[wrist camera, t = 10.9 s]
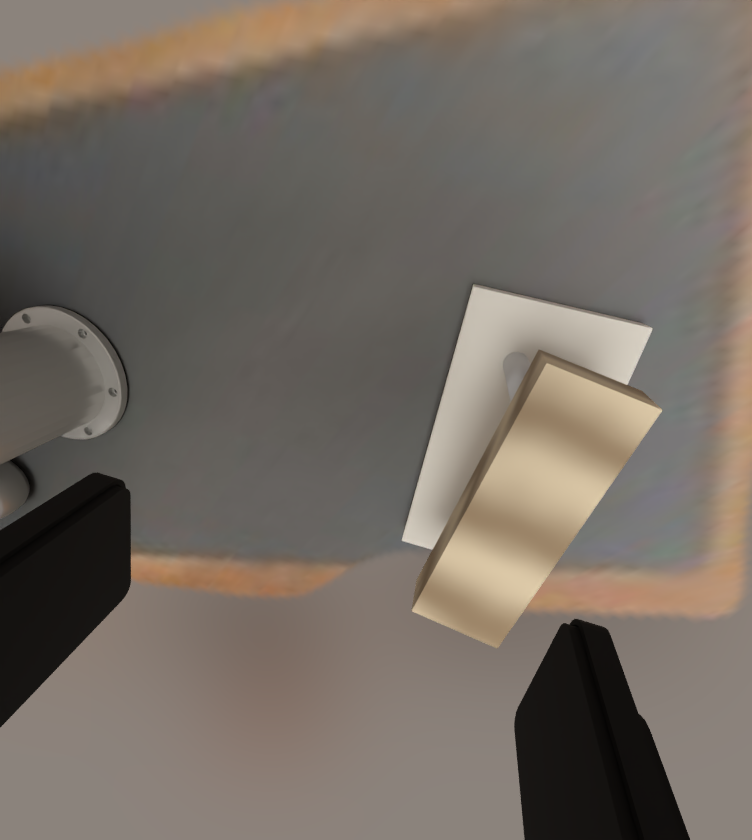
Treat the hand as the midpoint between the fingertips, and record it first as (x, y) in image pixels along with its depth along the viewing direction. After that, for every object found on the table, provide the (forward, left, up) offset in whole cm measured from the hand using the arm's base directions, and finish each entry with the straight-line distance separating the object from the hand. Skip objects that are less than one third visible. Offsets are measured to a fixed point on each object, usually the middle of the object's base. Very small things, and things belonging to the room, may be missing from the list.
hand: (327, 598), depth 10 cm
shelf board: (+8, -7, -19) cm, 22 cm away
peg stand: (+8, -7, -28) cm, 30 cm away
